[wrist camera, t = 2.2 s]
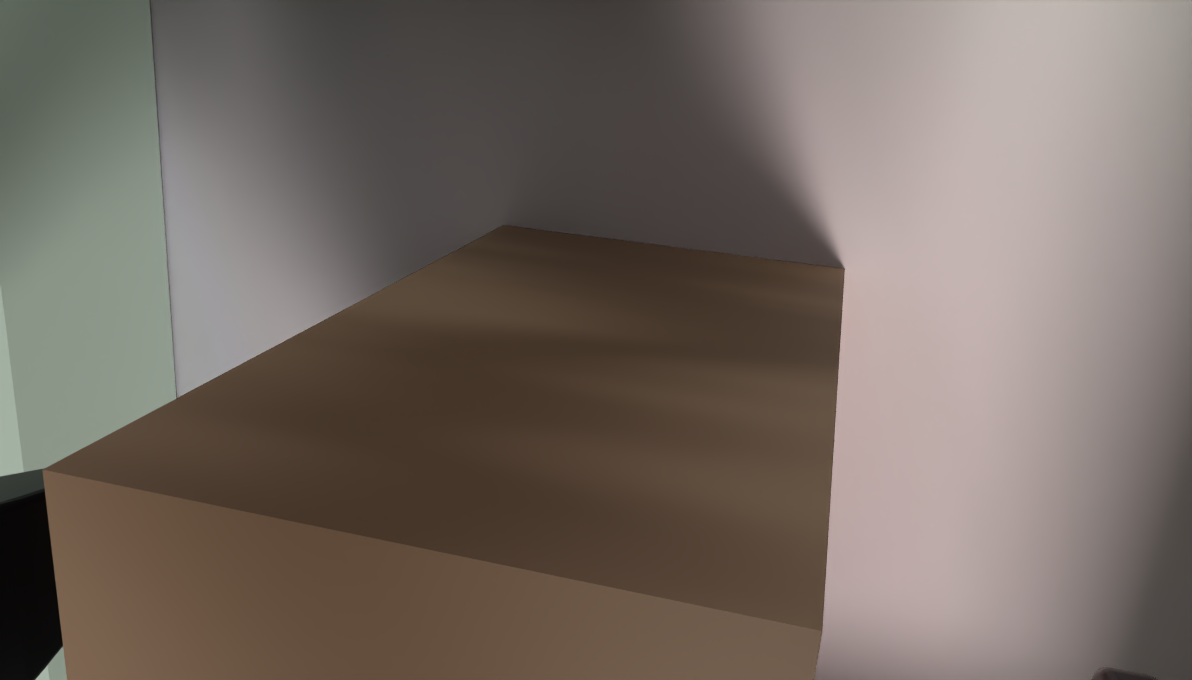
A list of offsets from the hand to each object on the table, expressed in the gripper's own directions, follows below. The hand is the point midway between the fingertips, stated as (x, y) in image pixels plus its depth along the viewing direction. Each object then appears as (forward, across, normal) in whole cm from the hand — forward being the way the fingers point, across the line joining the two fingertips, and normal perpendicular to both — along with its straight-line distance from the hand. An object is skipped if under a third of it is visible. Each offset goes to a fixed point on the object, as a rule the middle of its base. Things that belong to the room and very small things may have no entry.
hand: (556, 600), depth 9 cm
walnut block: (+5, 0, 0) cm, 5 cm away
